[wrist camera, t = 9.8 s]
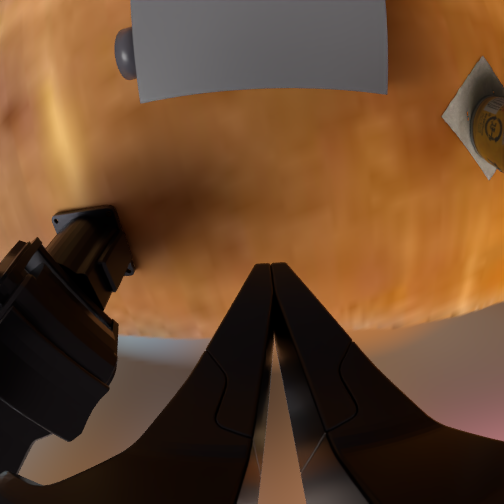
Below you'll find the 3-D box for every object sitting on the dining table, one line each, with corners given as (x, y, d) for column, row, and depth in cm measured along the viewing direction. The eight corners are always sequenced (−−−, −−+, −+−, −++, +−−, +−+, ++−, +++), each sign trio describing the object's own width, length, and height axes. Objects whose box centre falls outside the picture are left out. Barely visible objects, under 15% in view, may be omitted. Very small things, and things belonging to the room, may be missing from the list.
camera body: (147, 97, 15) (93, 119, 10) (137, -25, 10) (83, -58, 4) (364, 87, 15) (424, 104, 9) (358, -35, 10) (410, -70, 4)
